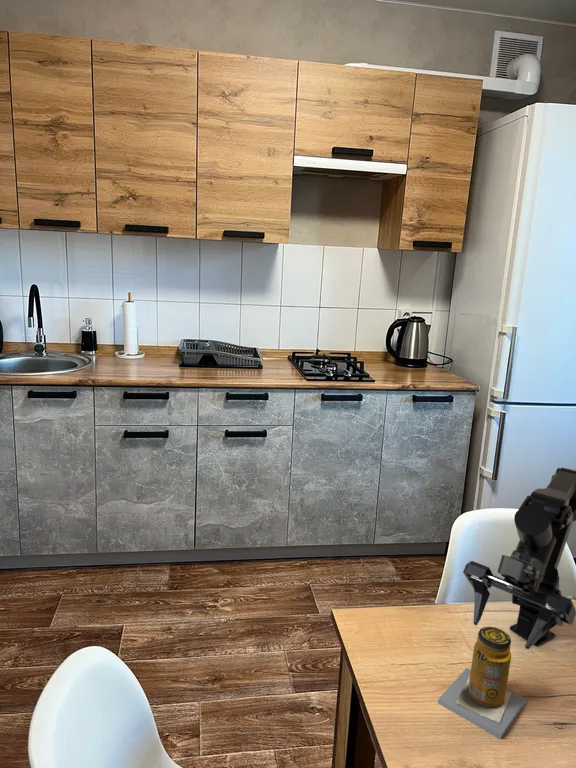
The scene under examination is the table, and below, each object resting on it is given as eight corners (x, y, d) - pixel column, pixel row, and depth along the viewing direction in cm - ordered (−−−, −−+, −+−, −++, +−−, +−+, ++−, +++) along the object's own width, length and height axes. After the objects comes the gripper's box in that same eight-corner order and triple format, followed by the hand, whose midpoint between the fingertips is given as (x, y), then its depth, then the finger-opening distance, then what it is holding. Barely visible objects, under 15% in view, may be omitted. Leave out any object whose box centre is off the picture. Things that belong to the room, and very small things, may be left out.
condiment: (511, 693, 103) (520, 632, 101) (499, 723, 96) (508, 659, 94) (469, 676, 107) (477, 616, 104) (455, 704, 100) (463, 641, 97)
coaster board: (466, 671, 109) (466, 667, 109) (525, 702, 102) (526, 698, 102) (437, 703, 101) (438, 698, 101) (500, 739, 94) (501, 734, 94)
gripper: (473, 520, 109) (438, 598, 103) (581, 557, 97) (548, 647, 91) (486, 544, 116) (454, 618, 111) (587, 582, 104) (558, 667, 99)
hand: (500, 636), depth 103 cm, fingers open, 9 cm apart
